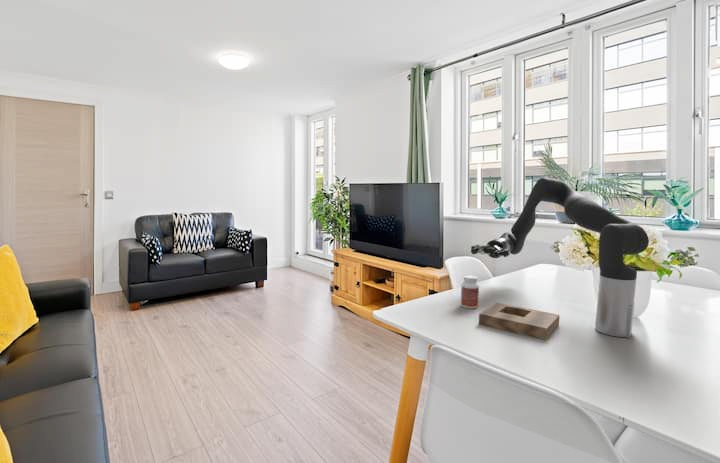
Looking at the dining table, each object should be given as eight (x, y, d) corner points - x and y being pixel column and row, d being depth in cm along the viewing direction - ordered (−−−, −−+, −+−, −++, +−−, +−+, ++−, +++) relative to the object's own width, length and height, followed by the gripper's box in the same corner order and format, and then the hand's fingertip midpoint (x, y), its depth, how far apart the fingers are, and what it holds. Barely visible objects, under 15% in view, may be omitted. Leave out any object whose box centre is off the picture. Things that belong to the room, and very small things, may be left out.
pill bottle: (480, 308, 140) (482, 278, 139) (464, 309, 139) (466, 279, 138) (473, 303, 146) (475, 274, 145) (457, 304, 145) (459, 275, 144)
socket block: (558, 325, 124) (559, 314, 124) (546, 340, 112) (546, 328, 111) (496, 312, 137) (496, 302, 136) (478, 324, 124) (479, 313, 124)
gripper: (482, 237, 166) (466, 241, 154) (516, 240, 158) (503, 245, 145) (481, 254, 167) (465, 260, 155) (515, 258, 159) (501, 265, 146)
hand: (483, 253), depth 150 cm, fingers open, 8 cm apart
